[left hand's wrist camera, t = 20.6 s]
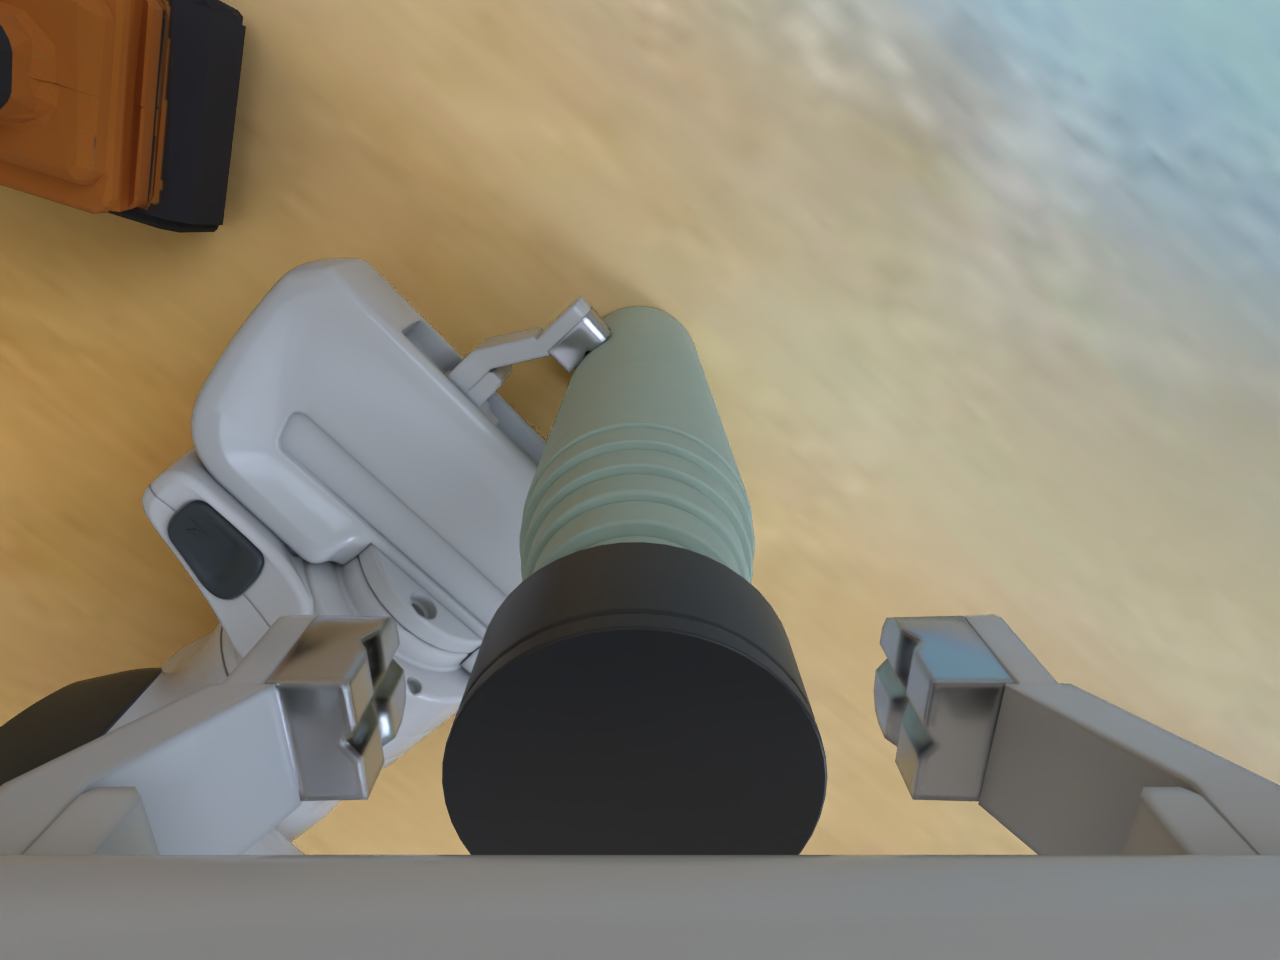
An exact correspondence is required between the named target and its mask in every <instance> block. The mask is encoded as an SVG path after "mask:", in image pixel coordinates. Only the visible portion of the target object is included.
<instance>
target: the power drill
mask: <svg viewBox="0 0 1280 960" xmlns="http://www.w3.org/2000/svg"><path fill="white" fill-rule="evenodd" d="M242 21H243V16H242V15H241V14H240V13H239V11H238V10H236V9H234V8H233V7H231V6H229V5H227V4H225V3H223V2H221V1H219V0H0V185H3V186H7V187H10V188H13V189H16V190H19V191H23V192H26V193H29V194H32V195H35V196H39V197H42V198H45V199H48V200H52V201H55V202H58V203H61V204H64V205H68V206H71V207H74V208H77V209H81V210H84V211H87V212H90V213H111V214H115V215H118V216H121V217H124V218H127V219H131V220H134V221H137V222H140V223H144V224H147V225H150V226H153V227H156V228H160V229H165V230H170V231H175V232H214V231H216V230H217V228H218V226H219V225H223V217H224V208H225V200H226V191H227V183H228V174H229V165H230V157H231V148H232V140H233V131H234V123H235V114H236V105H237V97H238V88H239V80H240V71H241V63H242V54H243V46H244V37H245V28H246V27H245V26H243V25H242Z"/></svg>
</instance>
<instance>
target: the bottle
mask: <svg viewBox="0 0 1280 960" xmlns="http://www.w3.org/2000/svg"><path fill="white" fill-rule="evenodd" d="M603 320H604V321H605V322H606V323H607V324H608V326H609V327H610V328H611V330H610V335H609V336H608V337H607V338H606V340H605V341H604V342H602V343H601V344H600V345H599V346H598V347H597V348H595V349H594V350H591V351H587V352H586V355H585V357H584V359H583V360H582V361H581V363H580V364H578V365H577V366H576V367H575V369H574V372H573V374H572V377H571V380H570V382H569V385H568V388H567V390H566V393H565V396H564V398H563V401H562V404H561V406H560V409H559V411H558V414H557V417H556V419H555V422H554V425H553V427H552V430H551V433H550V435H549V438H548V441H547V443H546V446H545V449H544V451H543V454H542V457H541V459H540V462H539V465H538V467H537V470H536V473H535V475H534V478H533V481H532V483H531V486H530V489H529V491H528V494H527V498H526V501H525V504H524V510H523V516H522V525H521V531H520V548H519V550H520V558H521V575H522V581H524V580H525V579H527V578H528V577H529V576H531V575H532V574H533V573H535V572H536V571H537V570H539V569H541V568H542V567H544V566H546V565H548V564H550V563H551V562H553V561H555V560H557V559H559V558H562V557H564V556H567V555H569V554H572V553H574V552H577V551H580V550H584V549H587V548H591V547H595V546H599V545H606V544H613V543H621V542H648V543H657V544H666V545H671V546H675V547H679V548H685V549H688V550H690V551H693V552H696V553H699V554H702V555H705V556H707V557H709V558H711V559H713V560H715V561H717V562H719V563H721V564H723V565H725V566H727V567H728V568H730V569H731V570H733V571H734V572H736V573H737V574H739V575H740V576H742V577H743V578H745V579H746V580H747V581H748V582H749V583H750V584H751V580H752V573H753V558H754V531H753V525H752V514H751V507H750V503H749V500H748V497H747V493H746V490H745V487H744V485H743V482H742V479H741V476H740V473H739V471H738V468H737V465H736V462H735V459H734V456H733V454H732V451H731V448H730V445H729V442H728V439H727V437H726V434H725V431H724V428H723V425H722V422H721V420H720V417H719V414H718V411H717V408H716V405H715V403H714V400H713V397H712V394H711V391H710V388H709V386H708V383H707V380H706V377H705V374H704V371H703V369H702V366H701V363H700V360H699V357H698V354H697V352H696V349H695V346H694V343H693V341H692V339H691V337H690V335H689V334H688V332H687V330H686V329H685V328H684V327H683V326H682V324H681V323H679V322H678V321H677V320H676V319H675V318H673V317H672V316H671V315H669V314H667V313H665V312H663V311H661V310H658V309H655V308H651V307H644V306H633V307H627V308H622V309H619V310H616V311H614V312H612V313H610V314H609V315H607V316H606V317H604V318H603Z"/></svg>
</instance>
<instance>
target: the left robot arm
mask: <svg viewBox="0 0 1280 960" xmlns="http://www.w3.org/2000/svg"><path fill="white" fill-rule="evenodd" d="M399 645H400V639H399V634H398V628H397V623H396V622H395V621H394V619H393V618H392V617H388V616H337V615H322V616H319V615H286V616H282V617H279V618H278V619H277V620H276V621H275V622H274V623H273V625H272V626H271V627H270V628H269V629H268V630H267V632H266V633H265V634H264V635H263V636H262V637H261V639H260V640H259V641H258V642H257V643H256V644H255V645H254V647H253V648H252V649H251V650H250V651H249V652H248V654H247V655H246V656H245V657H244V658H243V659H242V661H241V662H240V663H239V664H238V665H237V666H236V667H235V669H234V670H233V671H232V672H231V673H230V674H229V676H228V677H227V678H226V679H225V680H224V681H223V683H222V684H208V685H206V686H204V687H202V688H200V689H198V690H196V691H194V692H192V693H190V694H188V695H186V696H184V697H181V698H179V699H177V700H175V701H173V702H171V703H169V704H167V705H165V706H163V707H161V708H159V709H157V710H155V711H153V712H151V713H148V714H146V715H144V716H142V717H140V718H138V719H136V720H134V721H132V722H130V723H128V724H126V725H124V726H122V727H120V728H117V729H115V730H113V731H111V732H109V733H107V734H105V735H103V736H101V737H99V738H97V739H95V740H93V741H91V742H89V743H87V744H84V745H82V746H80V747H78V748H76V749H74V750H72V751H70V752H68V753H66V754H64V755H62V756H60V757H58V758H56V759H53V760H51V761H49V762H47V763H45V764H43V765H41V766H39V767H37V768H35V769H33V770H31V771H29V772H27V773H25V774H23V775H20V776H18V777H16V778H14V779H12V780H10V781H8V782H6V783H4V784H3V785H2V786H1V787H0V960H1280V786H1279V785H1278V784H1275V783H1273V782H1271V781H1269V780H1267V779H1265V778H1263V777H1261V776H1259V775H1257V774H1255V773H1253V772H1251V771H1249V770H1247V769H1245V768H1243V767H1241V766H1238V765H1236V764H1234V763H1232V762H1230V761H1228V760H1226V759H1224V758H1222V757H1220V756H1218V755H1216V754H1214V753H1212V752H1210V751H1208V750H1206V749H1203V748H1201V747H1199V746H1197V745H1195V744H1193V743H1191V742H1189V741H1187V740H1185V739H1183V738H1181V737H1179V736H1177V735H1175V734H1173V733H1171V732H1168V731H1166V730H1164V729H1162V728H1160V727H1158V726H1156V725H1154V724H1152V723H1150V722H1148V721H1146V720H1144V719H1142V718H1140V717H1138V716H1136V715H1133V714H1131V713H1129V712H1127V711H1125V710H1123V709H1121V708H1119V707H1117V706H1115V705H1113V704H1111V703H1109V702H1107V701H1105V700H1103V699H1101V698H1098V697H1096V696H1094V695H1092V694H1090V693H1088V692H1086V691H1084V690H1082V689H1080V688H1078V687H1076V686H1074V685H1072V684H1058V683H1057V681H1056V680H1055V679H1054V678H1053V677H1052V676H1051V674H1050V673H1049V672H1048V671H1047V670H1046V669H1045V667H1044V666H1043V665H1042V664H1041V663H1040V662H1039V661H1038V659H1037V658H1036V657H1035V656H1034V655H1033V654H1032V652H1031V651H1030V650H1029V649H1028V648H1027V647H1026V645H1025V644H1024V643H1023V642H1022V641H1021V640H1020V639H1019V637H1018V636H1017V635H1016V634H1015V633H1014V632H1013V630H1012V629H1011V628H1010V627H1009V626H1008V625H1007V623H1006V622H1005V621H1004V620H1003V619H1002V618H1001V617H998V616H996V615H994V614H992V615H965V616H935V617H895V618H886V620H885V622H884V625H883V627H882V633H881V639H880V645H881V647H882V649H883V650H884V652H885V654H886V656H887V659H886V660H885V661H884V662H883V663H882V664H881V665H880V666H879V668H878V669H877V670H876V674H875V684H874V700H875V711H876V715H877V719H878V723H879V726H880V728H881V731H882V733H883V735H884V738H886V739H887V740H888V741H890V742H891V743H893V744H894V745H896V746H897V754H896V760H895V762H896V764H897V766H898V769H899V771H900V773H901V775H902V777H903V779H904V782H905V784H906V786H907V788H908V790H909V792H910V795H911V797H912V799H914V800H951V801H979V805H980V806H981V807H982V808H984V809H985V810H986V811H987V812H988V813H990V814H991V815H992V816H993V817H994V818H995V819H997V820H998V821H999V822H1000V823H1001V824H1003V825H1004V826H1005V827H1006V828H1007V829H1008V830H1010V831H1011V832H1012V833H1013V834H1014V835H1015V836H1017V837H1018V838H1019V839H1020V840H1021V841H1023V842H1024V843H1025V844H1026V845H1027V846H1028V847H1030V848H1031V849H1032V850H1033V851H1034V852H1036V853H1037V854H1038V855H242V854H244V853H245V852H246V851H247V850H248V849H249V848H251V847H252V846H253V845H254V844H255V843H257V842H258V841H259V840H260V839H261V838H262V837H264V836H265V835H266V834H267V833H268V832H270V831H271V830H272V829H273V828H274V827H275V826H277V825H278V824H279V823H280V822H281V821H283V820H284V819H285V818H286V817H287V816H288V815H290V814H291V813H292V812H293V811H294V810H296V809H297V808H298V807H299V806H300V805H301V801H328V800H364V799H368V797H369V795H370V793H371V791H372V788H373V786H374V784H375V782H376V780H377V777H378V775H379V773H380V771H381V769H382V766H383V764H384V762H385V760H384V753H383V746H384V745H386V744H387V743H389V742H390V741H392V740H393V739H394V738H396V735H397V733H398V731H399V728H400V726H401V723H402V719H403V714H404V709H405V704H406V681H405V674H404V670H403V669H402V667H401V666H400V665H399V664H398V663H397V662H396V661H395V660H394V659H393V656H394V654H395V652H396V651H397V649H398V647H399Z"/></svg>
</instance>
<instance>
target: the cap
mask: <svg viewBox="0 0 1280 960" xmlns="http://www.w3.org/2000/svg"><path fill="white" fill-rule="evenodd" d="M442 784H443V791H444V797H445V803H446V806H447V809H448V813H449V816H450V819H451V822H452V824H453V826H454V828H455V830H456V832H457V834H458V836H459V838H460V840H461V841H462V843H463V844H464V845H465V847H466V848H467V850H468V851H469V852H470V854H471V855H799V854H800V853H801V851H802V850H803V848H804V847H805V845H806V843H807V842H808V840H809V839H810V837H811V836H812V834H813V831H814V829H815V827H816V825H817V822H818V820H819V818H820V815H821V811H822V807H823V804H824V800H825V795H826V785H827V767H826V756H825V752H824V748H823V744H822V740H821V736H820V733H819V730H818V727H817V724H816V722H815V718H814V715H813V712H812V709H811V706H810V703H809V700H808V697H807V694H806V691H805V688H804V685H803V682H802V679H801V676H800V673H799V670H798V667H797V664H796V661H795V658H794V655H793V652H792V649H791V646H790V643H789V640H788V637H787V635H786V632H785V630H784V628H783V625H782V623H781V621H780V619H779V618H778V616H777V615H776V613H775V611H774V610H773V608H772V606H771V605H770V604H769V603H768V602H767V600H766V599H765V598H764V597H763V596H762V594H761V593H760V592H759V591H758V590H757V589H756V588H755V587H753V586H752V585H751V584H750V583H749V582H748V581H747V580H746V579H745V578H743V577H742V576H740V575H739V574H737V573H736V572H734V571H733V570H731V569H730V568H728V567H727V566H725V565H723V564H721V563H719V562H717V561H715V560H713V559H711V558H709V557H707V556H705V555H702V554H699V553H696V552H693V551H690V550H688V549H685V548H679V547H675V546H671V545H666V544H657V543H648V542H621V543H613V544H606V545H599V546H595V547H591V548H587V549H584V550H580V551H577V552H574V553H572V554H569V555H567V556H564V557H562V558H559V559H557V560H555V561H553V562H551V563H550V564H548V565H546V566H544V567H542V568H541V569H539V570H537V571H536V572H535V573H533V574H532V575H531V576H529V577H528V578H527V579H525V580H524V581H522V582H521V583H520V584H519V585H518V586H517V587H516V588H515V589H514V590H513V591H512V592H511V593H510V594H509V595H508V596H507V598H506V599H505V600H504V602H503V603H502V604H501V605H500V607H499V608H498V609H497V611H496V613H495V614H494V616H493V618H492V620H491V622H490V623H489V625H488V627H487V630H486V633H485V635H484V638H483V641H482V643H481V646H480V649H479V652H478V655H477V658H476V660H475V663H474V666H473V669H472V672H471V675H470V677H469V680H468V683H467V686H466V689H465V691H464V694H463V697H462V700H461V703H460V706H459V708H458V711H457V714H456V717H455V720H454V723H453V726H452V728H451V731H450V734H449V737H448V740H447V742H446V747H445V752H444V758H443V767H442Z"/></svg>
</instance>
